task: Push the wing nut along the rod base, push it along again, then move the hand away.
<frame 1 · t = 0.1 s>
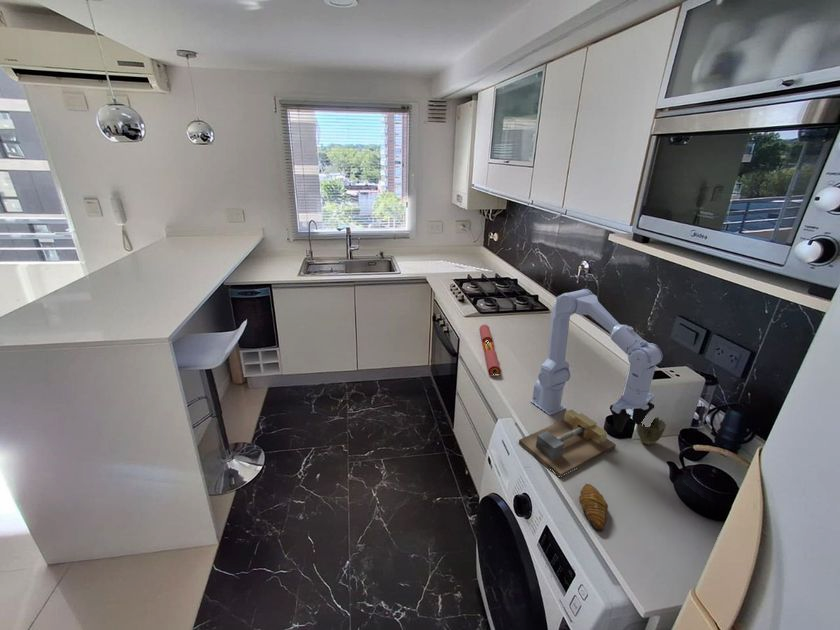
hand: (627, 426, 112), 10 cm above the worktop, tool pointing down, fingers open, 7 cm apart
croissant: (591, 510, 97), on the worktop
rod base: (568, 444, 119), on the worktop
artery: (488, 353, 176), on the worktop
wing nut: (584, 426, 120), point 5 cm above the worktop, slide at 0.0 cm
olive green lumpy piece: (645, 442, 121), on the worktop
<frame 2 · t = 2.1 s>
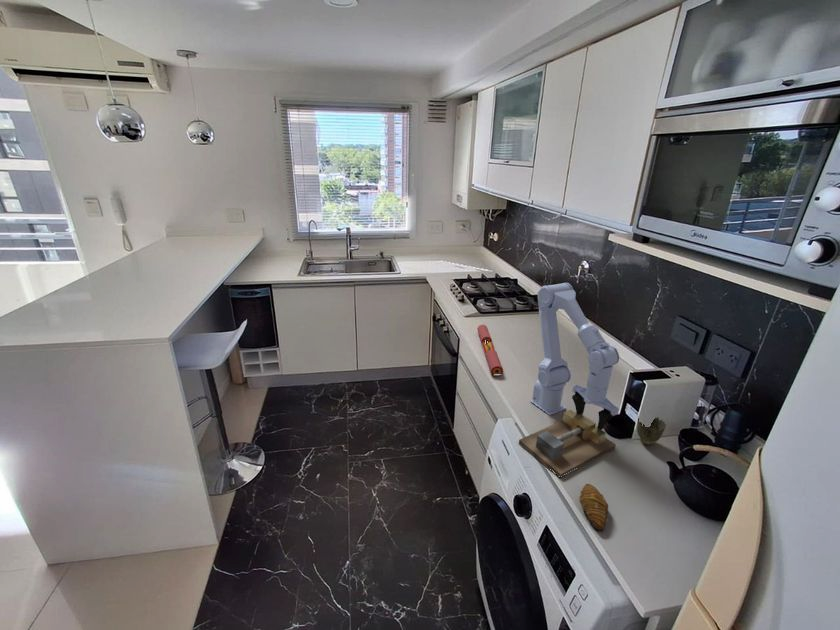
hand: (589, 422, 121), 5 cm above the worktop, tool pointing down, fingers open, 7 cm apart
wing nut: (583, 427, 120), point 5 cm above the worktop, slide at 0.5 cm, touching gripper
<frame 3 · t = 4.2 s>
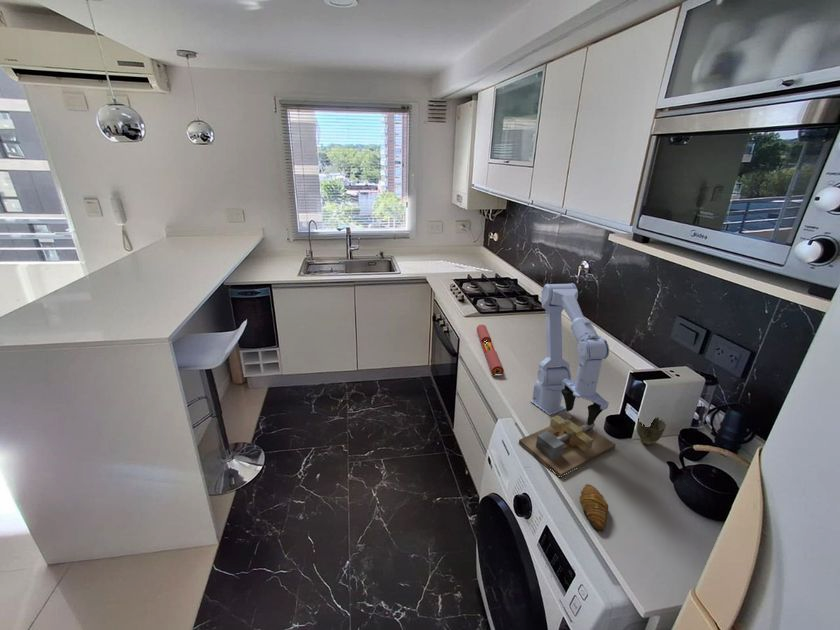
hand: (579, 416, 117), 9 cm above the worktop, tool pointing down, fingers open, 7 cm apart
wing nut: (570, 433, 117), point 5 cm above the worktop, slide at 6.2 cm
everything else where it was.
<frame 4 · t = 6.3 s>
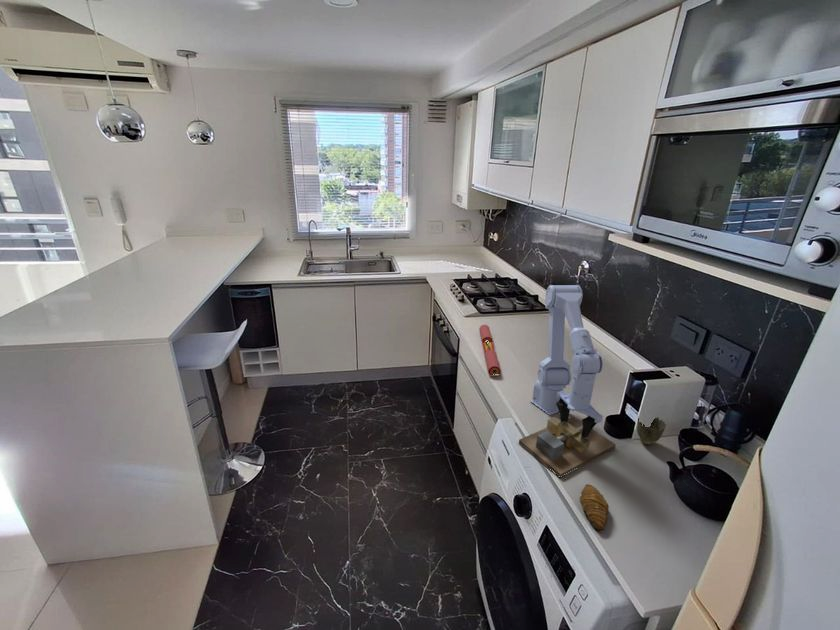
hand: (574, 429, 118), 5 cm above the worktop, tool pointing down, fingers open, 7 cm apart
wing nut: (567, 434, 117), point 5 cm above the worktop, slide at 7.7 cm, touching gripper
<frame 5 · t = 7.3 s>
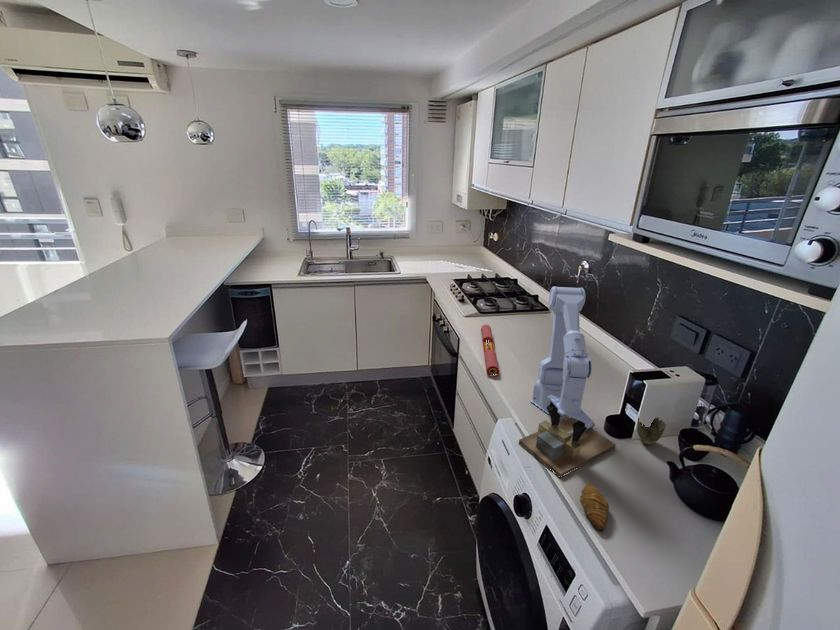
hand: (564, 433, 116), 5 cm above the worktop, tool pointing down
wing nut: (558, 438, 115), point 5 cm above the worktop, slide at 11.5 cm, touching gripper, rod base
everything else where it was.
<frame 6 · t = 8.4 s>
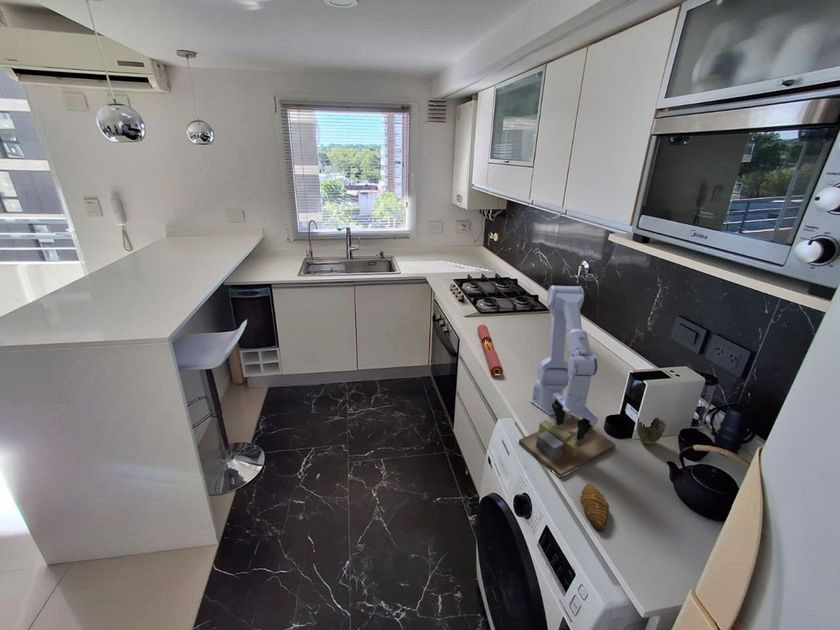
hand: (569, 431, 117), 5 cm above the worktop, tool pointing down, fingers open, 7 cm apart
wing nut: (559, 438, 115), point 5 cm above the worktop, slide at 11.2 cm
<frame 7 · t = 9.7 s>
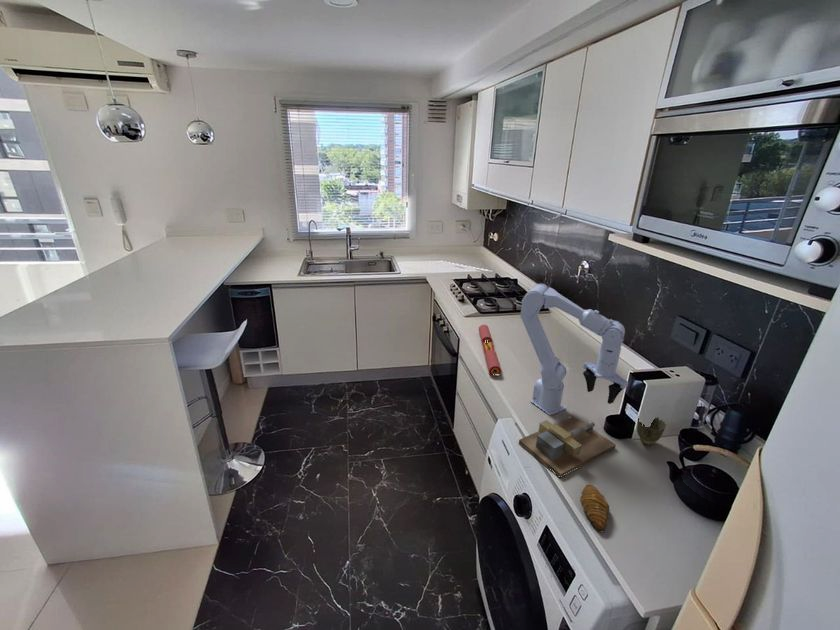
hand: (600, 396, 127), 9 cm above the worktop, tool pointing down, fingers open, 7 cm apart
nothing on the worktop moved.
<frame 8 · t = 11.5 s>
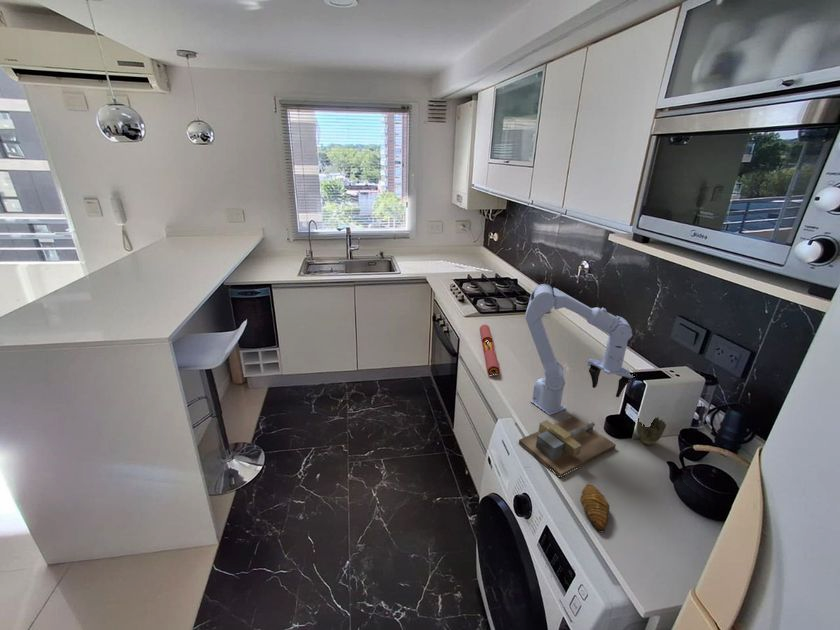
hand: (606, 391, 130), 9 cm above the worktop, tool pointing down, fingers open, 7 cm apart
nothing on the worktop moved.
at the end: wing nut slide at 11.2 cm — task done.
